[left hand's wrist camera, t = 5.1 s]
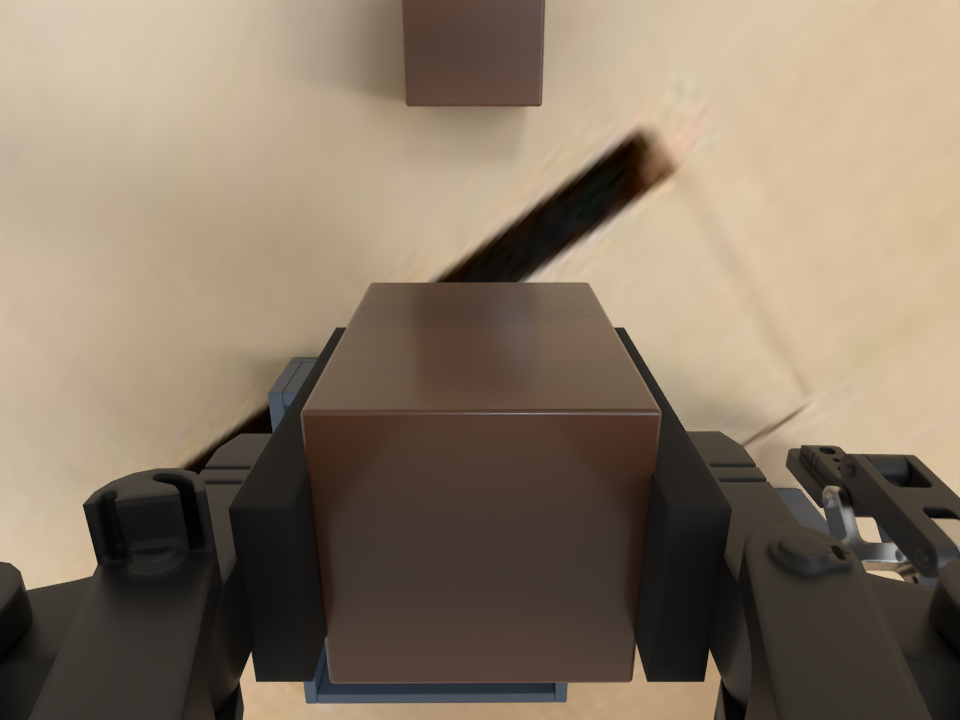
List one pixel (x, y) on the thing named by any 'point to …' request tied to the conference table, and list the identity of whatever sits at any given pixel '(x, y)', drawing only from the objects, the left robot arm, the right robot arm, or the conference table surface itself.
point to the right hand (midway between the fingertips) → (789, 533)
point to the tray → (452, 692)
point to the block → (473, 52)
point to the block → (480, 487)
